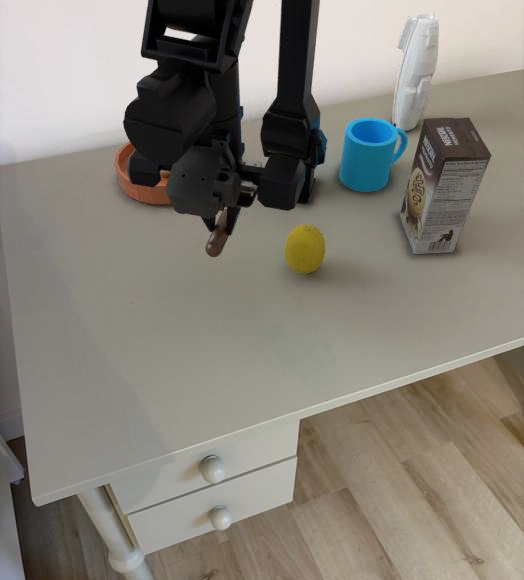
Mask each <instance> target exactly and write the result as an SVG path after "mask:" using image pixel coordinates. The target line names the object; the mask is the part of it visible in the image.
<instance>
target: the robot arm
mask: <svg viewBox="0 0 524 580" xmlns="http://www.w3.org/2000/svg"><path fill="white" fill-rule="evenodd" d="M254 1H255V0H147V6H146V12H145V20H144V26H143V32H142V33H143V34H142V40H141V46H140V57H141V58H142V59H147V60H148V59H149V60H151V61H152V60H153V61H156V64H157V67H156V68H155V69H154V70H153V71H152V72H151V73H150V74H147V75H144V76H143V77H142V78H141V79H140V80H138V81H137V82H136V85H135V88H136V92H137V96H136V97H135V98H133V100H131V102H130V103H129V104H128V105H127V106H126V108H125V110H124V116H123V120H122V125H123V126H122V127H123V129H124V133H125V135H126V137H127V139H128V142H129V141H130V142H131V144H132V145H133V146H134V148H135V150H134V151H133V153H132V154H131V155H130V157H129V158H128V160H127V166H126V168H127V172H128V177H129V180H130V182H131V183H132V184H135V185H141V186H147V187H152V188H154V187H155V186H156V185H157V184H158V183H159V182H160V181H161V175H160V171H161V170H165V171H171V172H170V175H169V178H168V181H167V184H166V187H165V190H166V193H167V195H168V197H169V200H170V202H171V204H170V205H171V206H172V209H173V210H174V212H176V214H180V215H191V216H196V217H200V219H201V221H202V222H203V224H204V225H205V227H206V228H207V230H208V232H209V233H212V232H213V229H214V227H215V225H216V223H217V220H216V219H217V215H218V214H219V212H222V211H224V210H225V209H227V225H226V228H227V234H228V235H229V237H231V236H232V234H233V232H234V230H235V227H236V224H237V223H238V222H237V221H238V219H239V216H240V213H241V211H242V208H245V209H247V208H250V207H252V206H253V204H254V202H255V200H257V201H258V202H259V203H260V204H261V205H262V206H263V207H264V208H268V209H274V210H280V211H286V212H289V211H292V210H294V209H295V208H296V206H297V203H300V204H308V203H309V201H310V198H311V196H312V194H313V193H312V192H313V191H314V188H315V185H316V182H317V179H316V178H315V172H316V171H315V170H316V168H317V167H318V166H320V165H323V164H325V162H326V154H327V153H326V152H327V149H328V147H327V144H328V139H327V136H326V135H325V133H324V132H323V130H322V129H321V110H320V108H319V106H318V104H317V102H316V100H315V98H314V95H313V93H312V89H313V88H312V87H313V77H314V66H315V58H316V57H315V56H316V45H317V36H318V25H319V14H320V6H321V5H320V4H321V0H281V1H280V19H279V20H280V21H279V38H278V39H279V42H278V43H279V44H278V59H277V60H278V62H277V63H278V64H277V83H276V97H275V98H274V99H273V101H272V102H271V104H270V105H269V107H268V109H267V110H266V112H265V113H264V114H263V116H262V124H261V127H260V133H259V138H260V143H261V148H262V149H261V150H262V154H263V157H264V158H267V161H266V162H265V165H264V167H262V166H263V162H261V161H258V160H252V159H245V158H243V157H244V154H245V151H246V149H245V148H246V147H245V142H243V141H242V140H243V139H242V120H243V118H244V113H245V112H244V105H241V92H240V91H241V90H240V89H241V88H240V65H239V64H240V63H239V62H240V61H239V57H240V52H241V49H242V46H243V43H244V41H245V40H246V35H245V34H246V32H247V26H248V24H249V20H250V16H251V13H252V10H253V5H254ZM167 29H169V30H172V31H177V32H182V33H186V34H191V35H195V36H193V37H192V38H191V39H186V38H180V37H177V36H176V37H175V36H170V35H166V31H167Z"/></svg>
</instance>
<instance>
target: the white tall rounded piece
mask: <svg viewBox="0 0 524 580" xmlns="http://www.w3.org/2000/svg"><path fill="white" fill-rule="evenodd" d="M438 19H439V18H438V17H435V12H431V11H430V12H428V13H423V14H422V13H421V14H419V15H416V16H415V17H412V16H408V17H406V19H405V22H404V24H403V26H402V29H401V33H400V34H399V38H398V41H397V43H396V48H397V49H399V50H401V51H402V56H401V59H400V63H399V67H398V71H397V76H396V81H395V86H394V87H395V88H394V94H393V102H392V113H391V114H392V115H391V116H392V117H391V119H392V120H391V121H392V123H391V124H392V125H393V126H394V125H395V128H400V129H402V130H403V131H404V132H406V131H407V132H408V131H411V130H413V129H414V128H416V127H417V124H418V122H419V120H422V118H423V117H424V115H425V113H426V110H427V108H428V105H429V102H430V99H431V95H432V92H433V84H432V82H431V81H433V80H432V79H433V77H434V74H435V72H436V69H437V63H438V59H439V35H440V25H439V20H438Z"/></svg>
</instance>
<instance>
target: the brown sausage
mask: <svg viewBox="0 0 524 580" xmlns="http://www.w3.org/2000/svg"><path fill="white" fill-rule="evenodd" d="M226 225H227V208H225V209H224V211H221V214H220V215H219V218H218V220H216V224H215V227H214V229H213V232H211V233H210V235H209V238H208V240H207V241H206V244H205V246H204V250H205V253H206V255H208V256H209V257H211V258H218V257H219V256H220V255H221V254H222V253H223V249H224V248H225V245H226V243H227V242H228V240H229V237H230V236H229V235H228V234H227V228H226Z"/></svg>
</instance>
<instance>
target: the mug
mask: <svg viewBox="0 0 524 580" xmlns="http://www.w3.org/2000/svg"><path fill="white" fill-rule="evenodd" d="M399 136H400V143H399V146H398V147H397V149H396V146H397V142H398V138H399ZM407 147H408V136H407V133H406V131H403V130H402V129H400V128H396V126H394V125H392V123H391V122H389V121H387V120H385V119H381V118H377V117H375V118H374V117H361V118H357V119H354V120H352V121H349V123H348V124H347V125H346V127H345V131H344V136H343V145H342V153H341V160H340V167H339V175H338V176H339V180H340V182H341V184H343V185H344V186H345V187H347V188H348V189H351V190H352V191H355V192H361V193H372V192H377V191H380V190H381V189H383V188H385V187H386V186H387V184H388V181H389V177H390V173H391V168H392V165H393V164H395V163H396V162H397V161H398V160H399V159H400V158H401V157H402V155H403V154H404V153H405V151H406V149H407Z"/></svg>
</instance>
